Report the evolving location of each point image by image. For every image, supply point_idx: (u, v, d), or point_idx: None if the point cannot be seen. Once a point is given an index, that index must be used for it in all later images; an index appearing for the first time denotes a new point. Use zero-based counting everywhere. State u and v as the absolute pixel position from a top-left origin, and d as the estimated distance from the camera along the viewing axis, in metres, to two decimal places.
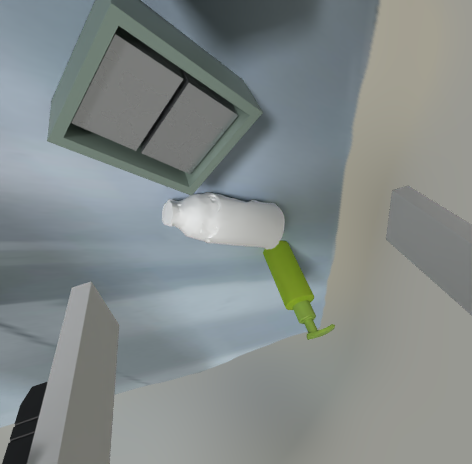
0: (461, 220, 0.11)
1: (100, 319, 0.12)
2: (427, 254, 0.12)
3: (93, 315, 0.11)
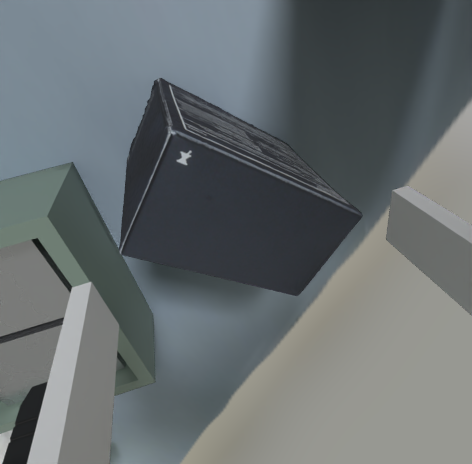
0: (461, 221, 0.11)
1: (100, 319, 0.12)
2: (427, 254, 0.12)
3: (93, 315, 0.11)
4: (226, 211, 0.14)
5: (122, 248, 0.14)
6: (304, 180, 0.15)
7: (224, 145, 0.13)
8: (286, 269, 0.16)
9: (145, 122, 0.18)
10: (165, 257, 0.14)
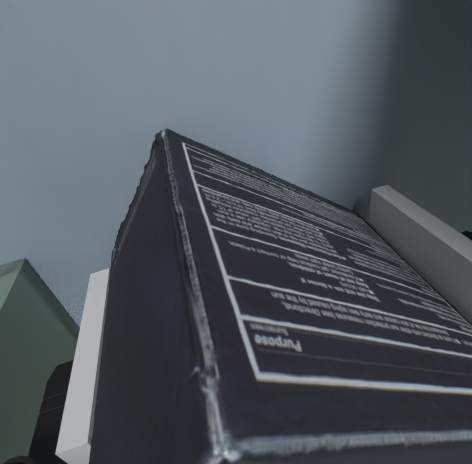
0: (434, 219, 0.12)
1: None
2: (404, 251, 0.13)
3: None
4: None
5: None
6: None
7: (347, 370, 0.05)
8: None
9: (140, 219, 0.09)
10: None
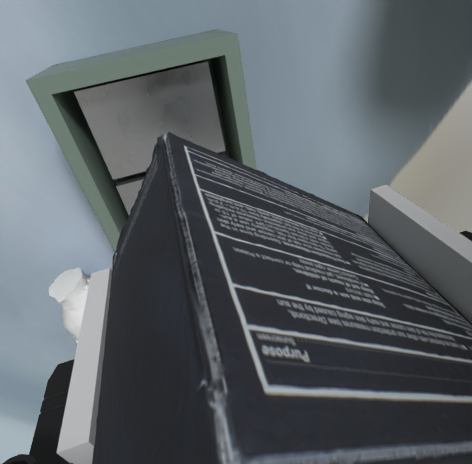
0: (433, 218, 0.12)
1: None
2: (403, 251, 0.13)
3: None
4: None
5: None
6: None
7: (356, 380, 0.05)
8: None
9: (142, 224, 0.09)
10: None
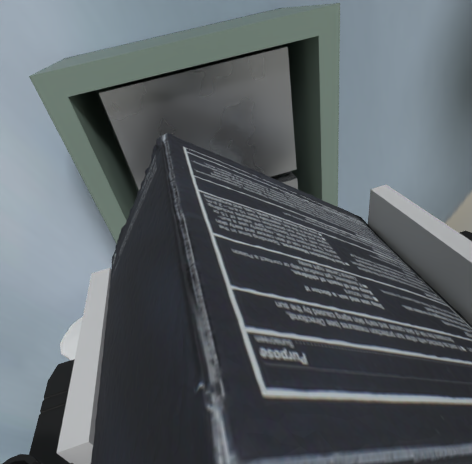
0: (433, 218, 0.12)
1: None
2: (403, 251, 0.13)
3: None
4: None
5: None
6: None
7: (354, 382, 0.05)
8: None
9: (141, 225, 0.09)
10: None
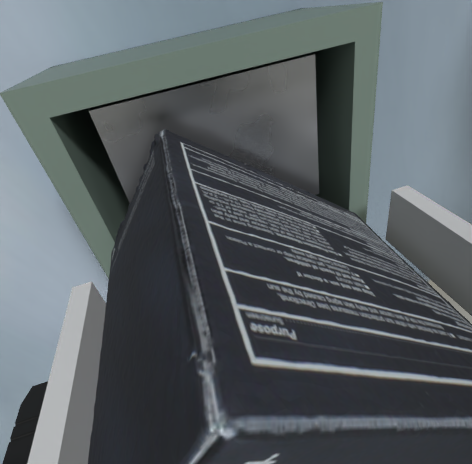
0: (460, 220, 0.11)
1: (100, 319, 0.12)
2: (427, 254, 0.12)
3: (93, 315, 0.11)
4: None
5: None
6: None
7: (341, 358, 0.05)
8: None
9: (139, 217, 0.10)
10: None
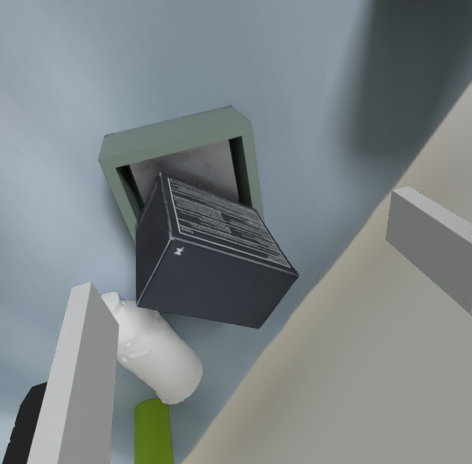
0: (461, 221, 0.11)
1: (100, 319, 0.12)
2: (427, 254, 0.12)
3: (93, 315, 0.11)
4: (206, 279, 0.21)
5: (138, 303, 0.21)
6: (259, 253, 0.23)
7: (204, 238, 0.21)
8: (248, 311, 0.24)
9: (151, 207, 0.25)
10: (165, 307, 0.22)
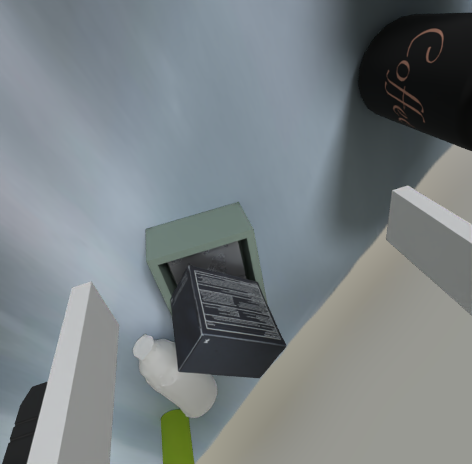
0: (461, 221, 0.11)
1: (100, 319, 0.12)
2: (427, 254, 0.12)
3: (93, 315, 0.11)
4: (223, 354, 0.32)
5: (179, 370, 0.32)
6: (258, 332, 0.34)
7: (222, 328, 0.32)
8: (251, 369, 0.35)
9: (183, 295, 0.36)
10: (196, 371, 0.33)
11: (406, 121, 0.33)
